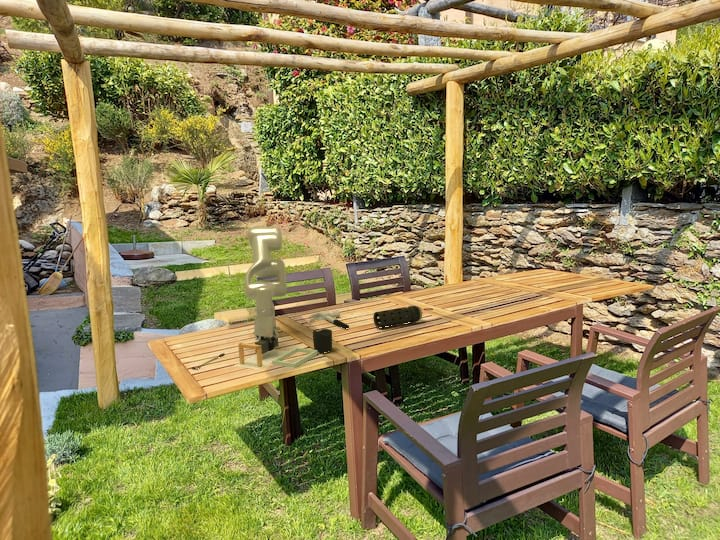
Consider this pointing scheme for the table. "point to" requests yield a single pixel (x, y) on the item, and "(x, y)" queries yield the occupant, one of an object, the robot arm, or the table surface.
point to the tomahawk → (208, 361)
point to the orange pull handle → (250, 346)
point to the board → (266, 359)
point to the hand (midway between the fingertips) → (267, 348)
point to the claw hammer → (328, 318)
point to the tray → (297, 363)
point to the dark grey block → (265, 344)
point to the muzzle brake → (397, 316)
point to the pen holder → (322, 340)
